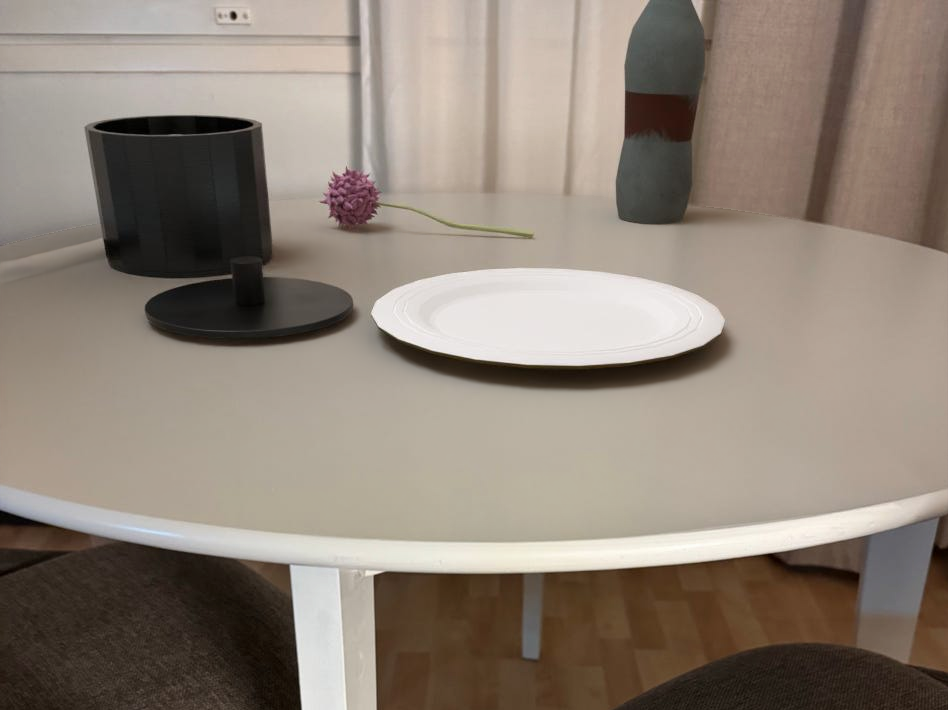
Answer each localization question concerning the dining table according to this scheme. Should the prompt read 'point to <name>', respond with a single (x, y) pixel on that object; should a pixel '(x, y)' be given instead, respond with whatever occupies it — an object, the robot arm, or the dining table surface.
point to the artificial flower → (358, 201)
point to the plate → (548, 318)
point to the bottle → (660, 112)
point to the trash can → (180, 193)
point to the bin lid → (248, 305)
